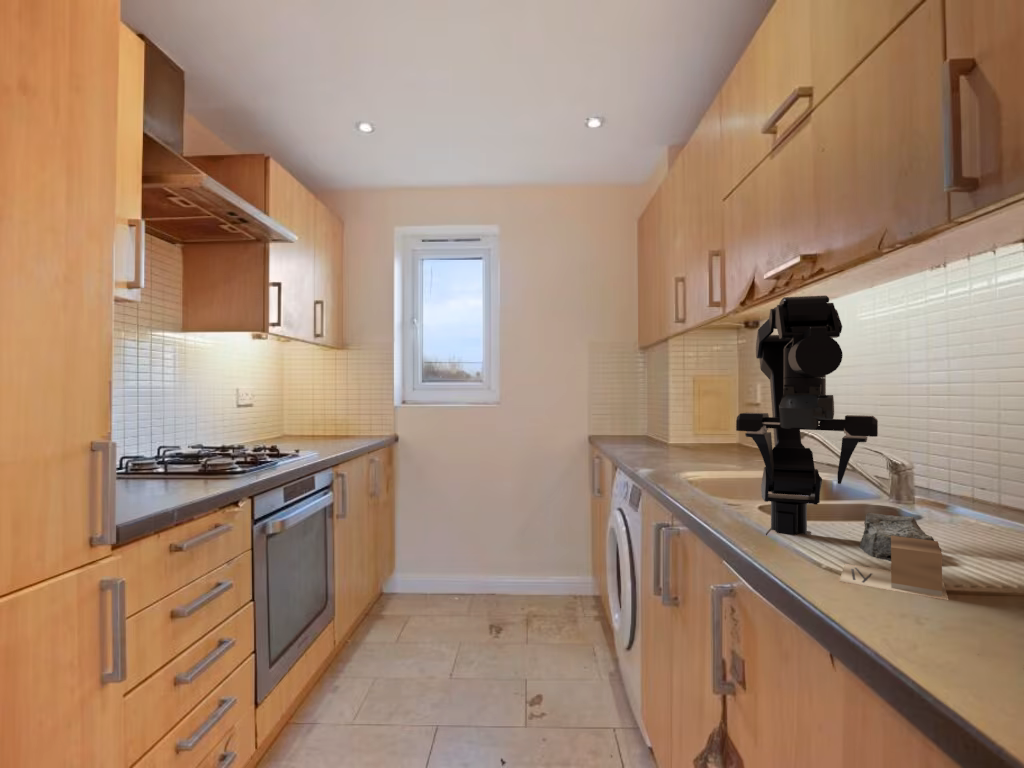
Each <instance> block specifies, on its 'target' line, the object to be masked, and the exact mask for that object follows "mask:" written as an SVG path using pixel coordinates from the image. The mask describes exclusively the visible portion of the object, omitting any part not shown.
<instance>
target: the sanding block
mask: <svg viewBox="0 0 1024 768" xmlns="http://www.w3.org/2000/svg"><path fill="white" fill-rule="evenodd" d="M940 549H941V547H940V544H939V541H938V540H934V541H931V540H923V539H915V538H907V537H899V536H891V556H890V559H891V561H890V566H891V567H890V571H891V588H896V589H902V590H908V591H914V592H920V593H925V594H931V595H937V596H942V579H943V553H942V549H941V550H940Z"/></svg>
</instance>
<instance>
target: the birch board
mask: <svg viewBox="0 0 1024 768" xmlns="http://www.w3.org/2000/svg"><path fill="white" fill-rule="evenodd" d="M842 567H843V568H842V571H841V575H840V578H839V583H845V584H852V585H857V586H863V587H868V588H873V589H874V588H875V589H881V590H887V591H890V592H891V591H892V592H893V591H894V592H898V593H903V594H904V593H905V594H909V595H916V596H922V597H926V598H927V597H929V598H935V599H938V600H940V599H941V600H946V601H949V597H948V593H947V590H946V586H945V584H944V579H943V578H942V596H937V595H931V594H925V593H920V592H914V591H908V590H902V589H896V588H891V570H888V569H881V568H876V567H869V566H862V565H855V564H848V563H843V566H842Z"/></svg>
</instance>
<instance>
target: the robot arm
mask: <svg viewBox="0 0 1024 768" xmlns="http://www.w3.org/2000/svg"><path fill="white" fill-rule="evenodd" d="M842 329H843V325H842V321H841V318H840V316H839V312H838V309H836V308H835V304H834V302H830V297H829V296H828V295H807V296H805V295H802V296H785V297H782V298H781V300H780V301H779V304H776V306H775V307H774V308H770V309H769V315H768V319H766V321H765V322H764V323H762V325H761V326H759V328H758V329H757V335H756V341H755V357H756V359H757V360H758V359H759V368H760V371H761V372H762V373H763V374H764V375H765V376H766V377H767V378H768V380H769V383H770V384H769V385H770V386H769V387H770V397H771V398H770V400H771V414H772V416H771V417H769V416H770V415H769V413H768V412H741V413H739V414H738V415H737V416H736V421H735V422H736V423H735V425H736V426H735V427H736V428H735V430H736V432H745V433H744V434H745V437H746V438H752V439H751V440H753V441H754V443H755V445H756V446H757V449H758V450H759V453H760V454H761V457H762V460H763V462H764V466H763V470H762V472H763V473H762V478H761V489H760V490H761V498H762V500H763V501H764V502H766V503H768V502H770V528H769V529H768V530H767V531H766V533H765V536H768V534H769V533H770V532H771V531H775V532H776V533H777V534H783V535H791V536H795V535H799V534H801V535H807V536H811V535H812V531H809V530H808V505H809V504H810V505H816V506H817V505H818V504H820V502H821V501H820V500H821V499H820V497H821V496H820V494H821V489H822V483H823V477H822V476H820V473H819V469H817V468H816V466H815V461H814V454H813V451H812V450H811V448H810V447H806V446H804V444H803V443H802V437H801V431H802V430H803V431H804V430H805V431H807V430H809V431H831V432H833V431H834V432H843V433H844V434H845V435H844V436H843V437H842V439H841V446H840V447H841V449H840V454H839V462H838V468H837V484H838V485H841V484H842V481H843V479H844V476H845V474H846V471H847V468H848V466H849V465H848V464H849V461H850V460H851V456H852V455H853V454H854V451H855V449H856V447H857V445H858V444H859V443H867V441H868V437H870V438H871V437H875V438H876V437H878V435H879V425H878V424H879V421H878V418H876V416H874V415H865V414H862V415H861V414H860V415H857V414H847V415H845V416H844V418H843V419H842V418H841V419H840V418H839V419H838V418H834V417H835V399H834V397H835V396H834V394H827V393H826V392H827V389H826V388H827V387H826V385H827V383H826V381H827V379H826V377H827V376H828V375H830V374H832V373H834V371H837V369H838V368H839V367H840V365H841V363H842V361H843V350H842V348H841V345H840V344H839V342H837V340H835V339H837V338H840V336H841V333H842ZM774 330H777V334H774ZM769 429H773V439H774V440H773V441H774V447H773V441H772V432H769V431H768V430H769Z"/></svg>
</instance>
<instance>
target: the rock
mask: <svg viewBox="0 0 1024 768" xmlns="http://www.w3.org/2000/svg"><path fill="white" fill-rule="evenodd" d="M917 522H918V521H917V520H916V518H915V517H914V516H898V515H893V514H891V515H887V514H881V513H873V512H867V513H866V514H865V519H864V531H863V535H862V537H861V539H860V543H859V548H860V549H861V551H863V552H864V553H865V554H867V555H868V556H871V557H875V559H878V560H879V559H880V560H885V561H888V562H891V536H899V537H907V538H915V539H923V540H931V541H935V538H934V537H933V536H931V535H928V534H927V533H926V532H925V531H924V530H923V529H922V528H921V527H920V526H919V524H918V523H917ZM940 550H941V551H942V548H940ZM889 556H890V557H889Z"/></svg>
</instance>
